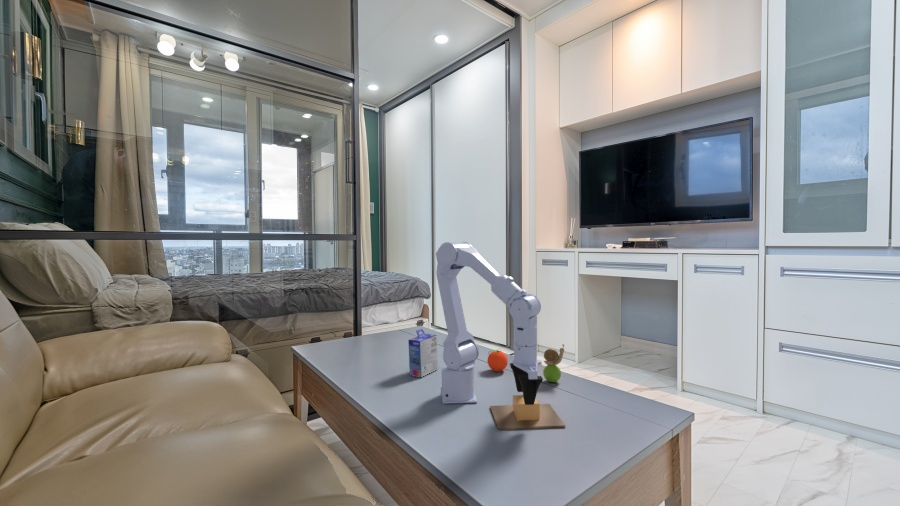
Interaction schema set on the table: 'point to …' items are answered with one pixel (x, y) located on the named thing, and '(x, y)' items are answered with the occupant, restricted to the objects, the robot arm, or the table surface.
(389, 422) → the table surface
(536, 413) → the cardboard-colored cube
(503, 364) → the clementine
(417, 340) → the ink cartridge box
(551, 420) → the post board
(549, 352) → the snail figurine
